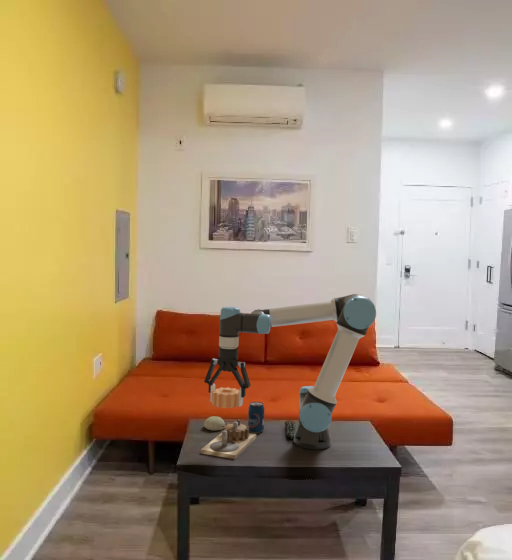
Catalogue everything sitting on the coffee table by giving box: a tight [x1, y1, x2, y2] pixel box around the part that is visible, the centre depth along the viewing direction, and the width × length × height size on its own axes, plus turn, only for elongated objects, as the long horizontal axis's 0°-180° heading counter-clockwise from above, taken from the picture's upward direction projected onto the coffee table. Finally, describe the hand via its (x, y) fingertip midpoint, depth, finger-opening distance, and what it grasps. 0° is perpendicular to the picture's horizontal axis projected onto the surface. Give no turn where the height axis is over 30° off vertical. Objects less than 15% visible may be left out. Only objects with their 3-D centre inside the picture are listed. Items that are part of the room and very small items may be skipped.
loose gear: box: [211, 386, 240, 409], centre depth 191 cm, size 11×11×5 cm
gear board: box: [200, 419, 257, 460], centre depth 197 cm, size 14×24×8 cm, turn 161°
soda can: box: [247, 401, 265, 434], centre depth 215 cm, size 7×7×12 cm
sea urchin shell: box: [203, 415, 226, 432], centre depth 217 cm, size 9×8×8 cm
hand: (226, 403), depth 191 cm, fingers closed on loose gear, 11 cm apart
